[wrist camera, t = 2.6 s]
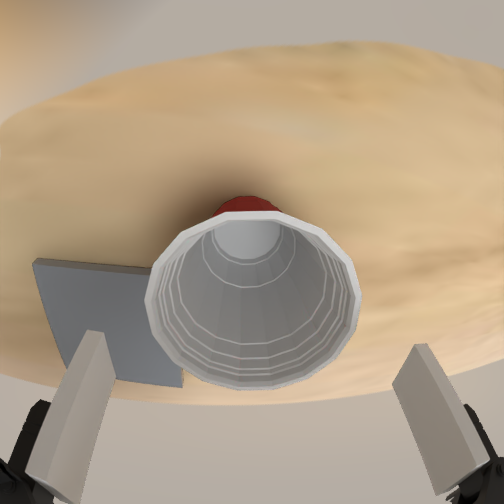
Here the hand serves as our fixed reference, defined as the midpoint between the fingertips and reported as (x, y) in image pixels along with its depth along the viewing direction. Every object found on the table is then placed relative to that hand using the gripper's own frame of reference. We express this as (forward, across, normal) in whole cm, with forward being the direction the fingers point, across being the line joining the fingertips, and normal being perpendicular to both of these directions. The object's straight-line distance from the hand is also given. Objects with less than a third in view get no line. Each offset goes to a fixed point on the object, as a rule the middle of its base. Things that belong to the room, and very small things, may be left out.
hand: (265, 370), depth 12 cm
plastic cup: (+15, 0, 0) cm, 15 cm away
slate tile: (+15, +14, +12) cm, 23 cm away
